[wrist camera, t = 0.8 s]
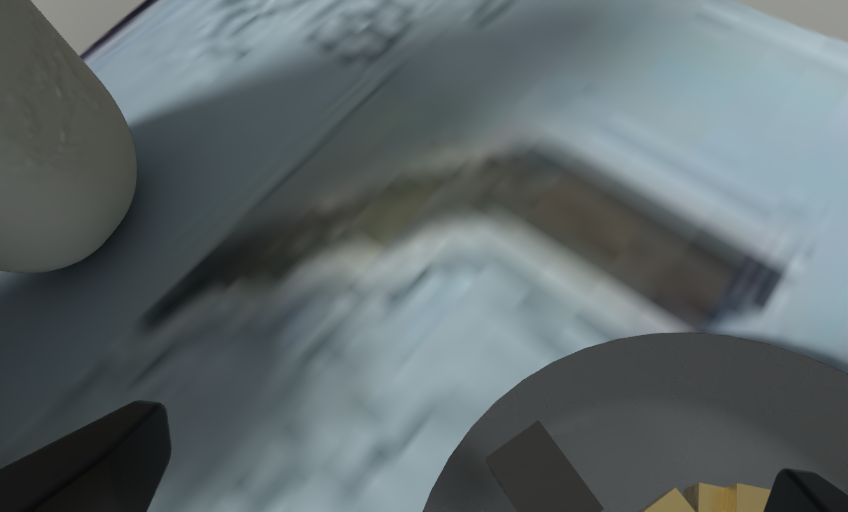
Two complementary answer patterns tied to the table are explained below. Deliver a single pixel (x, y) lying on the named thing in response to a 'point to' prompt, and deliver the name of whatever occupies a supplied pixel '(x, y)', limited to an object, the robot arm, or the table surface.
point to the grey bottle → (56, 149)
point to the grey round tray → (649, 427)
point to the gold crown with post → (711, 499)
